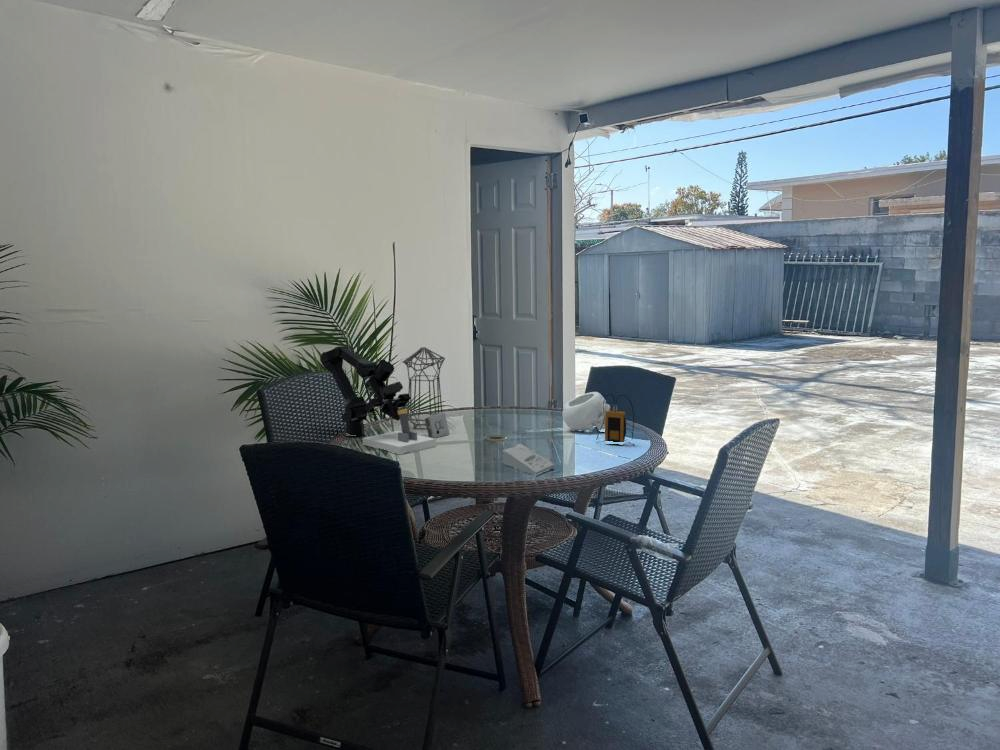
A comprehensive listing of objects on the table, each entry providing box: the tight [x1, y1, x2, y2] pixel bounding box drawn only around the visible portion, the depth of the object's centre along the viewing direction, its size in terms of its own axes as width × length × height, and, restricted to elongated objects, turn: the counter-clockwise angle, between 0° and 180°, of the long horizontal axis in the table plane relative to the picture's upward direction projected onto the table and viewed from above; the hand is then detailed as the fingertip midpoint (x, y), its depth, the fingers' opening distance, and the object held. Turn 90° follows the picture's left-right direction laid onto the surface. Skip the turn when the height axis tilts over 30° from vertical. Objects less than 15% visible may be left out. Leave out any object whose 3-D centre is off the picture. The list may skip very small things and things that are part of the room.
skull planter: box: [562, 391, 611, 432], centre depth 317 cm, size 14×20×19 cm
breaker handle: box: [397, 408, 411, 437], centre depth 288 cm, size 2×3×11 cm, turn 137°
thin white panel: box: [362, 430, 437, 455], centre depth 291 cm, size 22×18×6 cm
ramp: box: [501, 443, 555, 474], centre depth 262 cm, size 28×16×5 cm, turn 13°
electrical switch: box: [424, 412, 450, 439], centre depth 309 cm, size 9×5×9 cm, turn 141°
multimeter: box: [595, 393, 635, 442], centre depth 295 cm, size 15×10×20 cm
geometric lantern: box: [402, 346, 446, 430], centre depth 323 cm, size 16×16×35 cm
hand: (398, 419), depth 290 cm, fingers closed
